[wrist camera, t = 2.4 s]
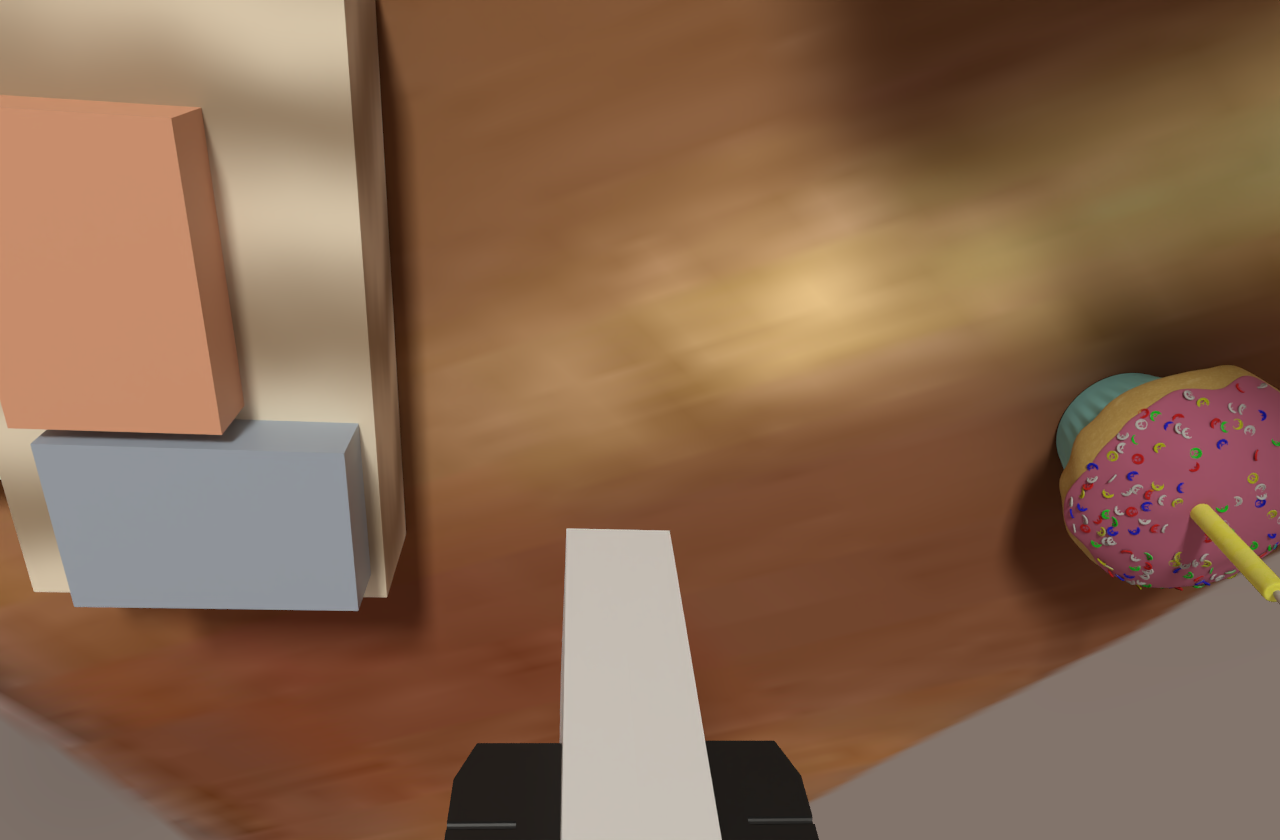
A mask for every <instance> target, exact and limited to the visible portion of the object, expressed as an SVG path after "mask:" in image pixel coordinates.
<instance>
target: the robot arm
mask: <svg viewBox="0 0 1280 840" xmlns="http://www.w3.org/2000/svg"><path fill="white" fill-rule="evenodd" d="M445 840H819V838H818V834H817V831H816V827H815V824H813V822H812V813H811V810H810V806H809V802H808V799H807V795H806V792H805V788H804V785H803V781H802V778H801V775H800V774H799V772H798V771H797V770H796V768H795V767H794V766H793V765H792V763H791V762H790V761H789V759H788V758H787V757H786V755H785V754H784V753H783V752H782V750H781V749H780V748H779V746H778V745H777V744H776V742H775V741H705V737H704V732H703V726H702V720H701V714H700V708H699V702H698V696H697V690H696V684H695V678H694V672H693V666H692V661H691V655H690V649H689V643H688V637H687V631H686V625H685V619H684V613H683V607H682V601H681V595H680V590H679V584H678V578H677V572H676V566H675V560H674V554H673V548H672V542H671V536H670V531H659V530H612V529H567V531H566V557H565V583H564V610H563V636H562V662H561V703H560V743H477V744H476V746H475V747H474V749H473V750H472V752H471V753H470V755H469V757H468V758H467V760H466V761H465V763H464V764H463V766H462V767H461V769H460V770H459V772H458V773H457V775H456V777H455V778H454V780H453V787H452V793H451V800H450V807H449V813H448V820H447V830H446V833H445Z"/></svg>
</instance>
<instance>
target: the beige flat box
mask: <svg viewBox="0 0 1280 840" xmlns="http://www.w3.org/2000/svg"><path fill="white" fill-rule="evenodd" d="M0 95H11V96H27V97H43V98H59V99H75V100H91V101H107V102H123V103H138V104H154V105H170V106H186V107H201V109H202V115H203V122H204V129H205V136H206V143H207V150H208V157H209V164H210V171H211V178H212V185H213V191H214V198H215V205H216V212H217V219H218V226H219V233H220V240H221V247H222V254H223V261H224V267H225V274H226V281H227V288H228V295H229V302H230V309H231V316H232V323H233V330H234V337H235V343H236V350H237V357H238V364H239V371H240V378H241V385H242V392H243V399H244V407H243V408H242V409H241V411H240V412H239V413H238V415H237V416H236V417H235V419H241V420H272V421H302V422H333V423H359V434H360V446H361V458H362V471H363V483H364V495H365V507H366V520H367V532H368V544H369V557H370V569H371V576H370V579H369V582H368V585H367V587H366V590H365V593H364V596H363V597H387V596H388V593H389V589H390V586H391V583H392V579H393V576H394V573H395V570H396V566H397V563H398V560H399V556H400V553H401V550H402V547H403V543H404V540H405V537H406V521H405V504H404V487H403V470H402V452H401V435H400V418H399V401H398V383H397V366H396V349H395V332H394V314H393V297H392V280H391V262H390V245H389V228H388V211H387V193H386V176H385V159H384V142H383V124H382V107H381V90H380V72H379V55H378V38H377V21H376V3H375V0H0ZM45 431H46V429H14V428H8V427H7V423H6V420H5V416H4V413H3V409H2V406H1V402H0V478H1V481H2V485H3V488H4V492H5V495H6V498H7V502H8V505H9V509H10V512H11V515H12V519H13V522H14V526H15V529H16V532H17V536H18V539H19V543H20V546H21V549H22V553H23V556H24V560H25V563H26V566H27V570H28V573H29V577H30V580H31V583H32V587H33V590H34V592H70V589H69V585H68V582H67V578H66V574H65V571H64V567H63V563H62V560H61V556H60V552H59V548H58V545H57V541H56V537H55V534H54V530H53V526H52V523H51V519H50V515H49V512H48V508H47V504H46V501H45V497H44V493H43V489H42V486H41V482H40V478H39V475H38V471H37V467H36V464H35V460H34V456H33V453H32V449H31V445H30V444H31V443H32V442H33V441H34V440H35V439H37V438H38V437H39V436H40V435H41V434H42V433H43V432H45Z"/></svg>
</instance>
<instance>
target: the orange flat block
mask: <svg viewBox="0 0 1280 840" xmlns="http://www.w3.org/2000/svg"><path fill="white" fill-rule="evenodd" d="M0 402H1V406H2V409H3V413H4V416H5V420H6V423H7V427H8V428H14V429H46V430H78V431H110V432H142V433H174V434H206V435H222V434H223V433H224V432H225V430H226V429H227V428H228V426H229V425H230V424H231V423H232V421H233V420H234V419H235V417H236V416H237V415H238V413H239V412H240V411H241V409H242V408H243V407H244V399H243V392H242V385H241V378H240V371H239V364H238V357H237V350H236V343H235V337H234V330H233V323H232V316H231V309H230V302H229V295H228V288H227V281H226V274H225V267H224V261H223V254H222V247H221V240H220V233H219V226H218V219H217V212H216V205H215V198H214V191H213V185H212V178H211V171H210V164H209V157H208V150H207V143H206V136H205V129H204V122H203V115H202V109H201V107H186V106H170V105H154V104H138V103H123V102H107V101H91V100H75V99H59V98H43V97H27V96H11V95H0Z"/></svg>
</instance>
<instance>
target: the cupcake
mask: <svg viewBox="0 0 1280 840" xmlns="http://www.w3.org/2000/svg"><path fill="white" fill-rule="evenodd" d="M1056 445H1057V451H1058V455H1059V458H1060V460H1061V463H1062V466H1063V469H1064V470H1063V472H1062V474H1061V477H1060V481H1059V487H1060V494H1061V499H1062V508H1063V517H1064V522H1065V527H1066V530H1067V532H1068V534H1069V536H1070V537H1071V539H1072V540H1073V541H1074V542H1075V543H1076V545H1077V546H1078V547H1079V548H1080V549H1081V550H1082V551H1083V552H1084V553H1085V554H1086V555H1087V557H1088V558H1089V559H1091V560H1092V561H1093V562H1094V563H1095V564H1097V565H1098V566H1100V567H1101V568H1102V569H1103V570H1104V571H1105V572H1107V573H1109V574H1110V576H1111V577H1114V576H1115V577H1117V578H1119V579H1121V580H1122V581H1124V580H1125V581H1127V582H1128V583H1129V584H1131V585H1134V584H1135V585H1136V586H1137V587H1138V588H1139V589H1140V590H1142V588H1141V587H1140V586H1144V587H1154V588H1161V589H1163V588H1173V587H1174V588H1176V589H1178V590H1181V591H1183V589H1182V588H1180V587H1185V586H1193V587H1195V588H1201V587H1203V586H1204V584H1205V585H1209V586H1210V584H1209V583H1211V582H1215V581H1219V580H1223V579H1226V578H1227V579H1230V578H1233V577H1235V576H1236V575H1237V573H1239V572H1241V573H1242V574H1243V575H1244V576H1245V577H1246V579H1247V580H1248V581H1249V582H1250V583H1251V584H1252V585H1253V586H1254V587H1255V588H1256V589H1257V590H1258V592H1259V593H1260V594H1261V595H1262V596H1263V597H1264V598H1265V599H1266V600H1268V601H1271V602H1278V603H1279V604H1280V578H1279V577H1278V576H1277V575H1276V574H1275V573H1274V572H1273V571H1272V570H1271V569H1270V568H1269V567H1268V566H1267V565H1266V564H1265V563H1264V562H1263V561H1262V560H1261V559H1262V558H1264V557H1265V556H1266V555H1268V554H1269V553H1270V552H1271V551H1273V550H1275V549H1276V547H1277V546H1278V545H1279V544H1280V391H1279V390H1278V389H1276V388H1275V387H1273V386H1272V385H1270V384H1269V383H1267V382H1265V381H1264V380H1262V379H1260V378H1259V377H1257V376H1255V375H1254V374H1252V373H1250V372H1248V371H1246V370H1244V369H1242V368H1240V367H1237V366H1233V365H1222V366H1217V367H1212V368H1208V369H1201V370H1194V371H1189V372H1184V373H1180V374H1176V375H1171V376H1167V377H1163V378H1160V377H1155V376H1151V375H1147V374H1141V373H1125V374H1118V375H1114V376H1111V377H1108V378H1105V379H1103V380H1101V381H1099V382H1097V383H1095V384H1093V385H1091V386H1090V387H1088V388H1087V389H1086V390H1084V391H1083V392H1082V393H1081V394H1080V395H1078V396H1077V397H1076V398H1075V399H1074V401H1073V402H1072V403H1071V404H1070V405H1069V407H1068V408H1067V410H1066V411H1065V413H1064V415H1063V416H1062V419H1061V421H1060V423H1059V426H1058V430H1057V437H1056ZM1196 585H1198V586H1196ZM1200 585H1201V586H1200Z"/></svg>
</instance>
